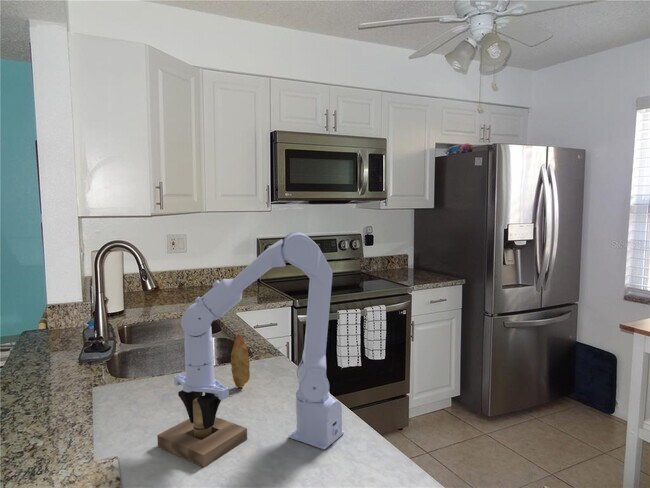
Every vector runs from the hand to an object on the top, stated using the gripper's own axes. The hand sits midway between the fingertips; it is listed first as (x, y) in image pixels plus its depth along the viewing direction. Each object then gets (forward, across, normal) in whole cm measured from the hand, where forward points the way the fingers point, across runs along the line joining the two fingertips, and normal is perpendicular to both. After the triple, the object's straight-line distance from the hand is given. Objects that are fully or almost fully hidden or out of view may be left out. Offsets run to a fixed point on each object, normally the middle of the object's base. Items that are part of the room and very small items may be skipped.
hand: (202, 423), depth 95 cm
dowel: (+3, 0, 0) cm, 3 cm away
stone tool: (+4, -13, +25) cm, 29 cm away
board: (+4, 0, 0) cm, 4 cm away
